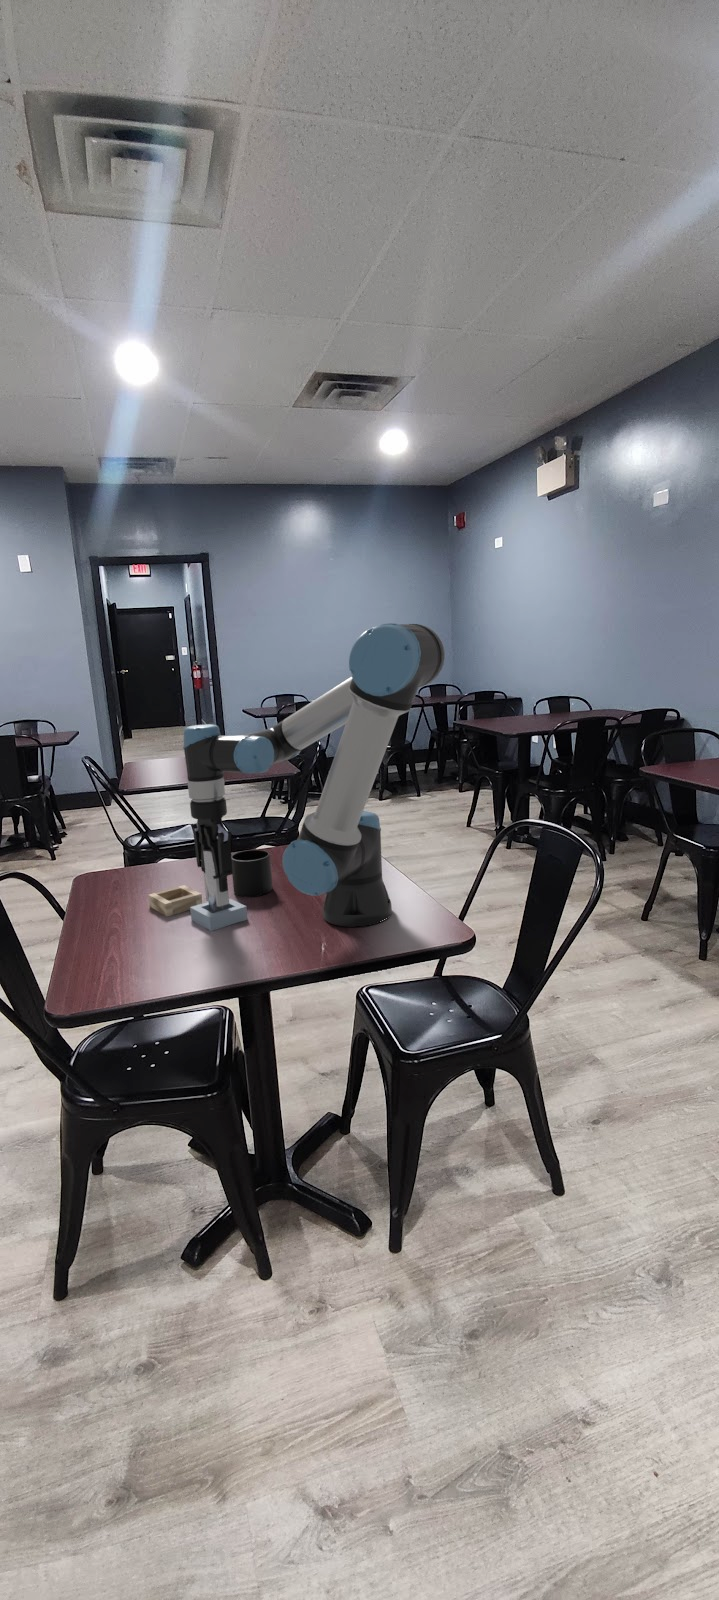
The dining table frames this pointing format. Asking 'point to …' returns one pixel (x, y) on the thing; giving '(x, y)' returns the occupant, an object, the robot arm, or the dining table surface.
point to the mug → (251, 873)
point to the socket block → (218, 915)
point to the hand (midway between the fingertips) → (217, 901)
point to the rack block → (175, 900)
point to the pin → (211, 882)
